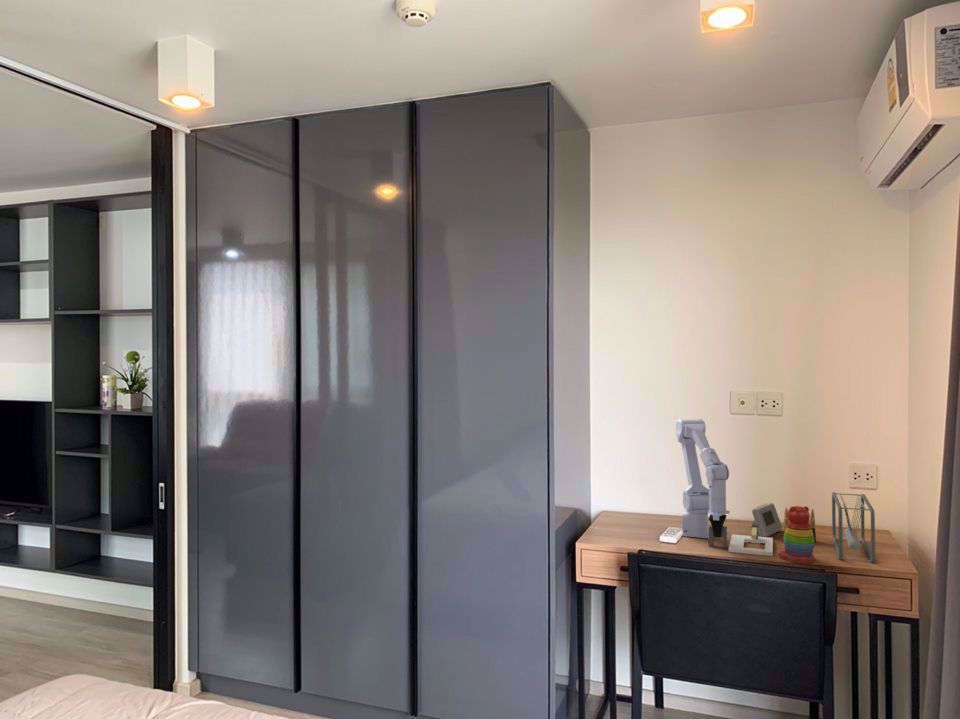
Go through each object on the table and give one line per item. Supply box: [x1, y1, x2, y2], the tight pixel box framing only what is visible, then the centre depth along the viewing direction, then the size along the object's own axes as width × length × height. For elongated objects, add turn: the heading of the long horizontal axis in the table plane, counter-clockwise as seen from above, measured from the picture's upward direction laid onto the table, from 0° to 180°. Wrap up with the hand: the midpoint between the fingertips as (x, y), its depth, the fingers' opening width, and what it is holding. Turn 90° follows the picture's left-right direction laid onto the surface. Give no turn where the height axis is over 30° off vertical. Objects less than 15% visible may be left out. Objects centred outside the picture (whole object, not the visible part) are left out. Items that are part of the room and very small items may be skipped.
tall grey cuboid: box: [708, 524, 728, 549], centre depth 247 cm, size 6×2×7 cm, turn 67°
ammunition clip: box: [782, 507, 817, 543], centre depth 253 cm, size 11×2×12 cm, turn 74°
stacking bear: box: [777, 505, 816, 564], centre depth 231 cm, size 11×10×18 cm
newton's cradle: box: [831, 491, 876, 564], centre depth 240 cm, size 30×10×18 cm, turn 157°
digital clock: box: [751, 502, 783, 538], centre depth 264 cm, size 16×9×11 cm, turn 123°
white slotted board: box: [728, 523, 774, 557], centre depth 247 cm, size 14×20×6 cm
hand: (717, 536), depth 247 cm, fingers closed on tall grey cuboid, 2 cm apart
